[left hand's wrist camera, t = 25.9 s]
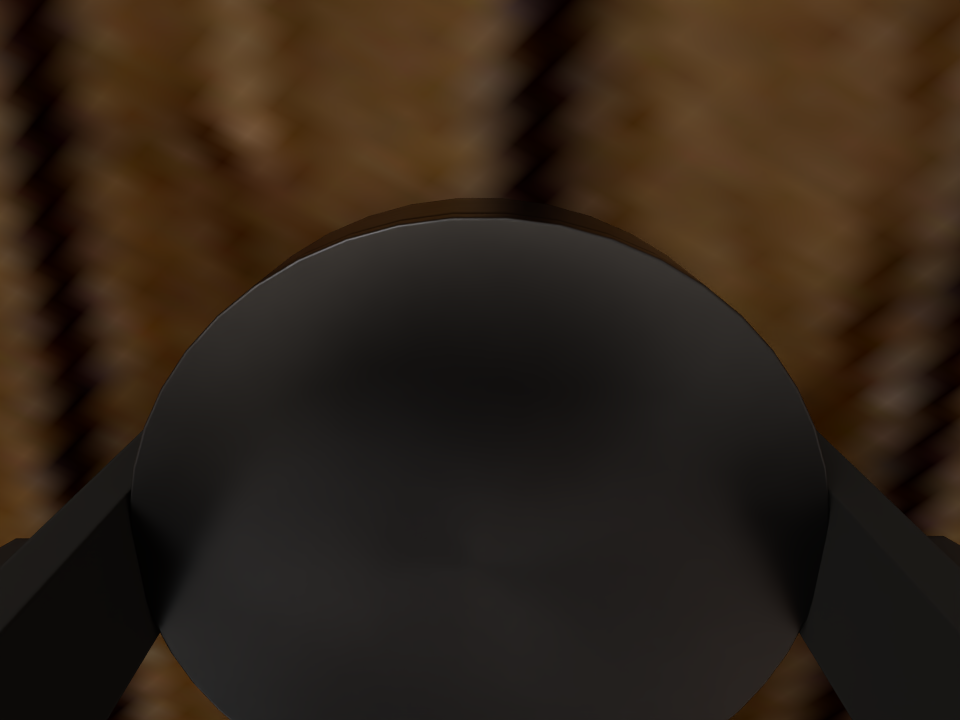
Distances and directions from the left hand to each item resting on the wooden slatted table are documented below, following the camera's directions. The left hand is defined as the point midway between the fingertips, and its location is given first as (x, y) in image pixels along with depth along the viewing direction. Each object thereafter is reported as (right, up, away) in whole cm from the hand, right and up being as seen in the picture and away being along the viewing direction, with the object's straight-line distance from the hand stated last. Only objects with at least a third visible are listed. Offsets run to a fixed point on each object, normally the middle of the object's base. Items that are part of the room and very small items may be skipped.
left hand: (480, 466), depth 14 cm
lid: (0, -1, -3) cm, 3 cm away
